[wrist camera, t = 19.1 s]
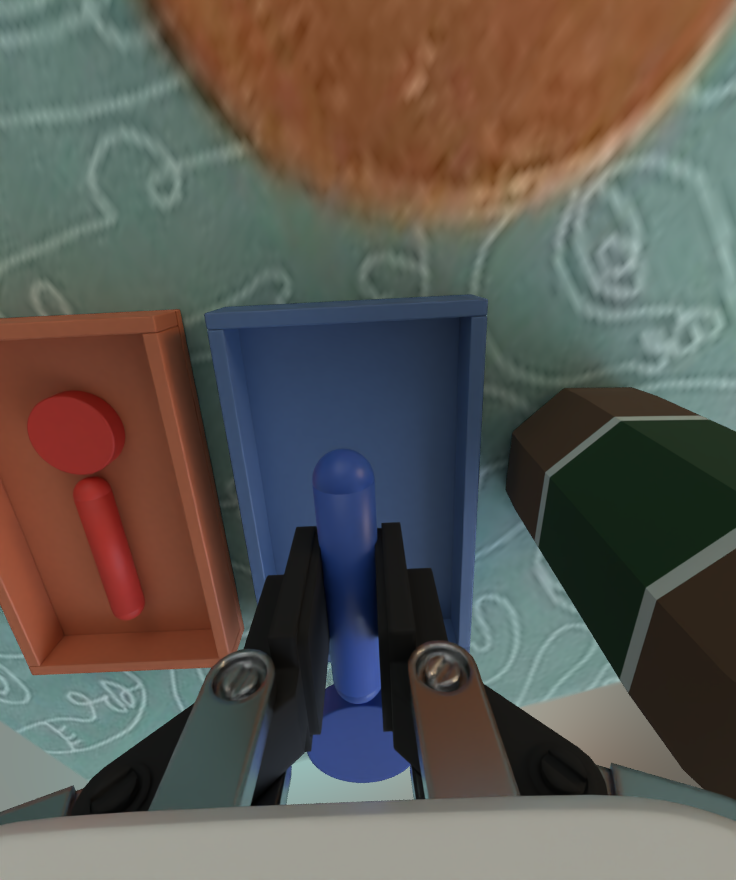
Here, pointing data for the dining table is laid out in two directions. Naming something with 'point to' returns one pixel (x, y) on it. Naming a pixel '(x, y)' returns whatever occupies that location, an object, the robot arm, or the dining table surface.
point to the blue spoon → (351, 624)
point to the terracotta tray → (136, 495)
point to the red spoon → (91, 484)
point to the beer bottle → (644, 554)
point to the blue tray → (359, 423)
